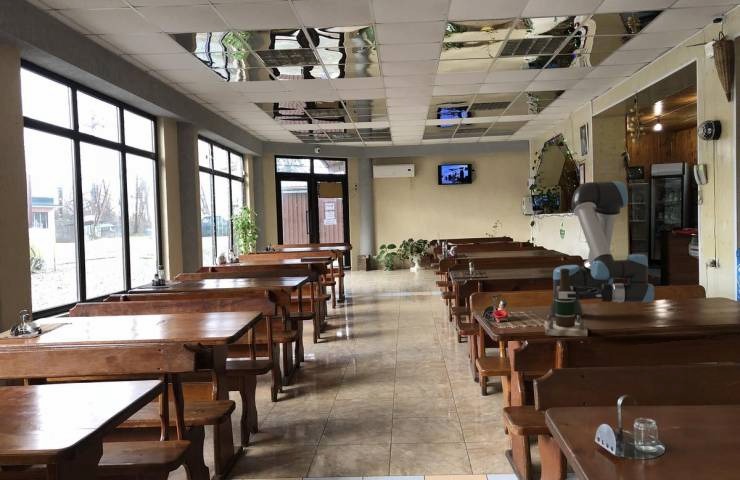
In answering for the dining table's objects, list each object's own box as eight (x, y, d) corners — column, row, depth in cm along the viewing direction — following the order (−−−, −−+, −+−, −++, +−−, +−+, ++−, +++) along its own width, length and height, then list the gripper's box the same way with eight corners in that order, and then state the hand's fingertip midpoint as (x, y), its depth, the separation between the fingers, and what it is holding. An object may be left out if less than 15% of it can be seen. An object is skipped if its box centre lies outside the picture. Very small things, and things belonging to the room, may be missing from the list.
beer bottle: (575, 323, 247) (574, 267, 245) (575, 327, 239) (574, 270, 238) (555, 323, 249) (555, 267, 248) (555, 327, 242) (554, 269, 240)
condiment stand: (546, 335, 239) (545, 322, 238) (544, 326, 254) (544, 314, 254) (587, 336, 235) (587, 323, 234) (583, 327, 250) (583, 314, 250)
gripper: (616, 307, 227) (559, 306, 232) (607, 296, 251) (556, 295, 256) (616, 288, 226) (559, 288, 232) (607, 279, 250) (556, 279, 256)
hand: (557, 292), depth 244 cm, fingers open, 13 cm apart
